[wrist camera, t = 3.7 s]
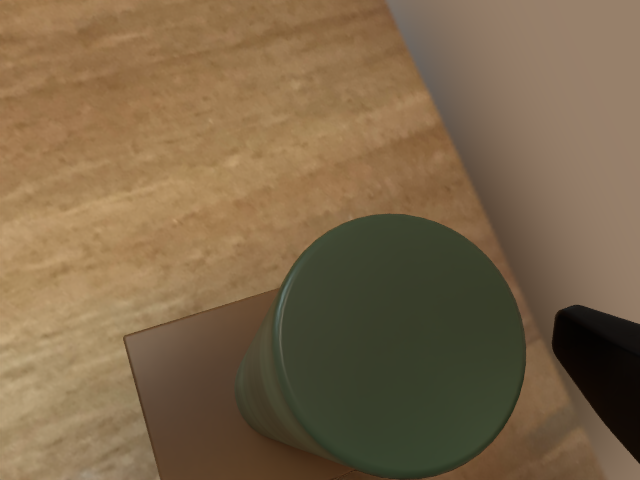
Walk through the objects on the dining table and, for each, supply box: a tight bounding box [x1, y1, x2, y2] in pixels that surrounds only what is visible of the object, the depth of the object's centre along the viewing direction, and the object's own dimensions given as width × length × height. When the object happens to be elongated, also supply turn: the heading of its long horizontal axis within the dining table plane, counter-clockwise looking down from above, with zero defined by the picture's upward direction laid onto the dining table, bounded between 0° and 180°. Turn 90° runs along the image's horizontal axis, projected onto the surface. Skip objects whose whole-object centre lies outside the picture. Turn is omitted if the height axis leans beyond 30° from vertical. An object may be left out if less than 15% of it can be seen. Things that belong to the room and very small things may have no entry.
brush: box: [123, 214, 526, 480], centre depth 12 cm, size 5×7×13 cm
